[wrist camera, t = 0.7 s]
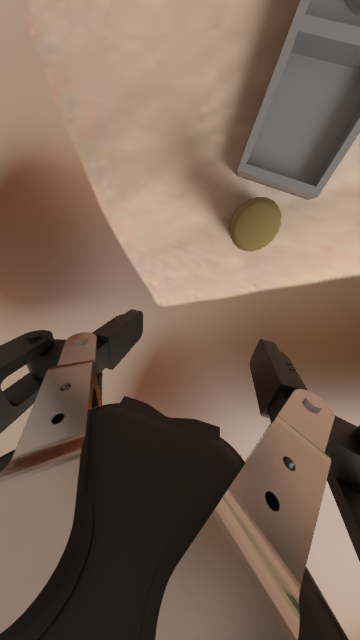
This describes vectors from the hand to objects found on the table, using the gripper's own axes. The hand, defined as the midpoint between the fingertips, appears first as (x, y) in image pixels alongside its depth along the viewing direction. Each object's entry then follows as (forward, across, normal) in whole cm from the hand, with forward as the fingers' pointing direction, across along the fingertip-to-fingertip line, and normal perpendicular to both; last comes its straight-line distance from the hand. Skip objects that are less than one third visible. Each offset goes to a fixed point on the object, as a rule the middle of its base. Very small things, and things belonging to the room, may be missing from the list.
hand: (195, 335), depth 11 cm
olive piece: (+22, -4, -9) cm, 24 cm away
